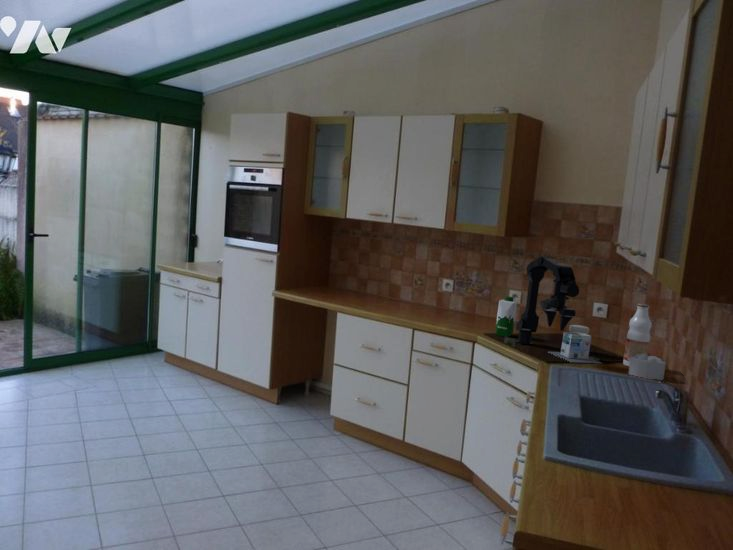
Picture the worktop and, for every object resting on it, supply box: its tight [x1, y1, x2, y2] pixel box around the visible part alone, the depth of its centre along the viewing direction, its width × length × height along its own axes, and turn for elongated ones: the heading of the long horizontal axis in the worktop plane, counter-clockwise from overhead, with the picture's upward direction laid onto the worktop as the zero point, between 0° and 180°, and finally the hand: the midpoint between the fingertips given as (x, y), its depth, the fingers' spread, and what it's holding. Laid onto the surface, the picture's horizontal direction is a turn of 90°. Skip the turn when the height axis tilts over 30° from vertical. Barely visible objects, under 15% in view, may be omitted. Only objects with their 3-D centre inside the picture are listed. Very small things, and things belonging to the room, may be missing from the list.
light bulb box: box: [560, 331, 592, 359], centre depth 276 cm, size 11×7×11 cm, turn 105°
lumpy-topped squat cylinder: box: [628, 354, 667, 381], centre depth 255 cm, size 10×13×9 cm
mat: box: [547, 351, 603, 365], centre depth 276 cm, size 18×16×1 cm
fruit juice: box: [622, 303, 653, 368], centre depth 272 cm, size 9×9×28 cm
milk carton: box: [495, 295, 518, 338], centre depth 316 cm, size 9×9×20 cm
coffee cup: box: [568, 324, 591, 335], centre depth 294 cm, size 9×9×12 cm
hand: (555, 328), depth 272 cm, fingers open, 9 cm apart
